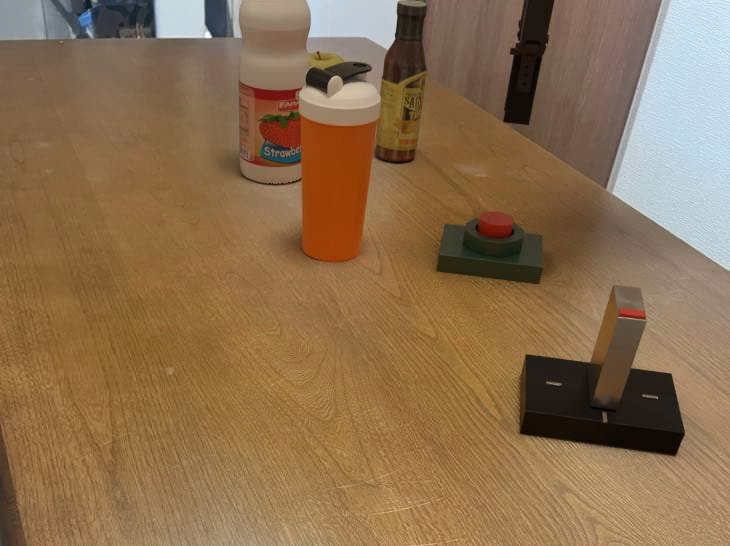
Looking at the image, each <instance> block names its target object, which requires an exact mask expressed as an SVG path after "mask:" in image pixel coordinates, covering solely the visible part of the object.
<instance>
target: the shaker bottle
mask: <svg viewBox="0 0 730 546" xmlns="http://www.w3.org/2000/svg"><path fill="white" fill-rule="evenodd" d="M372 70H373V67H372V65H371V64H369V63H366V62H361V61H345V62H343V63H339V64H336V65H333V66H330V67H328V68H325V69H323V70H322V69H320V68H317V67H310V68H309V69H308V70H307V72H306V74H305V86H304V87H303V88H302V90H301V91H300V93H299V110H298V112H299V114H300V115H301V174H302V178H301V224H302V225H301V239H302V240H301V243H302V246H301V247H302V251H303V252H304V253H305V254H306V255H307V256H308V257H310V258H312V259H315V260H317V261H322V262H331V263H336V262H338V263H339V262H346V261H350V260H353V259H355V258H356V257H358V255H360V253H361V250H362V243H363V235H364V227H365V218H366V212H367V211H366V210H367V202H368V197H369V195H368V194H369V187H370V181H371V172H372V163H373V157H374V148H375V143H376V142H375V139H376V129H377V120H378V119H379V117H380V106H381V97H380V92H379V91H378V90H377V88H376V87H375V86H374V85H373V83H371V82H370V81H368V80H367V74H368V73H369V72H371V71H372Z"/></svg>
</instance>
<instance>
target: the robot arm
mask: <svg viewBox="0 0 730 546" xmlns="http://www.w3.org/2000/svg"><path fill="white" fill-rule="evenodd" d="M554 4H555V0H523V3H522V7H521V8H522V9H521V14H520V19H518V23H517V26H518V28H517V29H518V31H517V33H516V38H517V42H515V45H514V46H515V47H510V48H509V49H510V50H509V55H512V56H513V57H512V63H511V69H510V73H509V79H508V84H507V90H506V96H505V102H504V108H503V111H504V114H503V121H502V122H503V123H504V124H505V123H506V124H513V125H524V126H529V125H530V121H531V118H532V117H531V116H532V112H533V106H534V101H535V96H536V91H537V86H538V82H539V77H540V71H541V68H542V67H541V66H542V62H543V56H544V55H545V52H546V50H547V45H548V44H549V41H550V34H549V31H550V30H549V29H550V24H551V19H552V14H553V10H554Z"/></svg>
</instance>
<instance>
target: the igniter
mask: <svg viewBox="0 0 730 546" xmlns="http://www.w3.org/2000/svg"><path fill="white" fill-rule="evenodd" d="M479 218H480V217H478V218H477V217H476V218H473V219H470V220H469V221H467V222H466V223H465V225H461V224H453V223H444V224H443V229H442V234H441V242H440V246H439V252H438V259H437V265H436V266H437V267H436V272H437V273H445V274H452V275H453V274H455V275H462V276H467V277H468V276H469V277H477V278H484V279H485V278H486V279H493V280H499V281H500V280H502V281H508V282H516V283H524V284H532V285H540V283H541V277H542V274H543V269H544V254H543V253H544V252H543V235H542V234H535V233H528V232H525V229H524V228H523V227H522V226H520V225H519V224H518V223H515V222H514V224H513V229H512V234H511V236H510V237H507V238H492V237H487V236H485V235H482V234H480V233H479V232H478V231H477V230H478V224H479Z"/></svg>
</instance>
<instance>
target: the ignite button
mask: <svg viewBox="0 0 730 546" xmlns="http://www.w3.org/2000/svg"><path fill="white" fill-rule="evenodd" d="M478 218H479V224H478V230H477V231H478V232H479V233H480V234H482V235H485V236H487V237H492V238H507V237H510V236H511V234H512V229H513V224H514V223H515V219H514V217H513V216H511V215H510V214H507V213H505V212H502V211H485V212H483V213H481V214H480V215H479V217H478Z"/></svg>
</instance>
